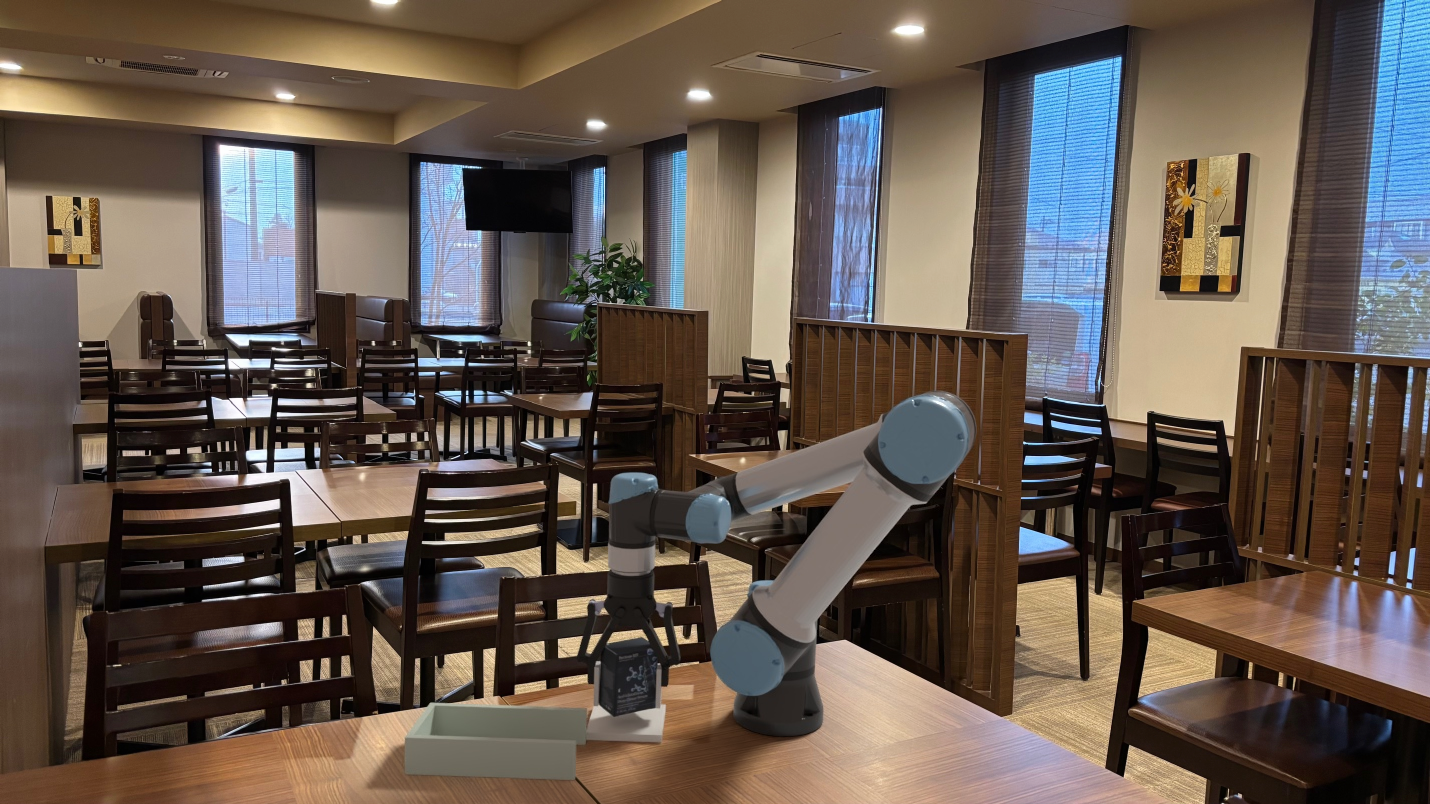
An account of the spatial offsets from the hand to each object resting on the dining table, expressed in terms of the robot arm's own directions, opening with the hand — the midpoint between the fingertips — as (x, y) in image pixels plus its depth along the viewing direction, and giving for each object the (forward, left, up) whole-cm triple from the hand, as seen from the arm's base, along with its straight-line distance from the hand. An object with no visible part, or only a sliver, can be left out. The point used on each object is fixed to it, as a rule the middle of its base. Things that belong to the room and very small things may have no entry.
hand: (627, 703), depth 161 cm
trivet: (0, 0, -4) cm, 4 cm away
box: (0, 0, -1) cm, 1 cm away
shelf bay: (+18, +13, -4) cm, 23 cm away
